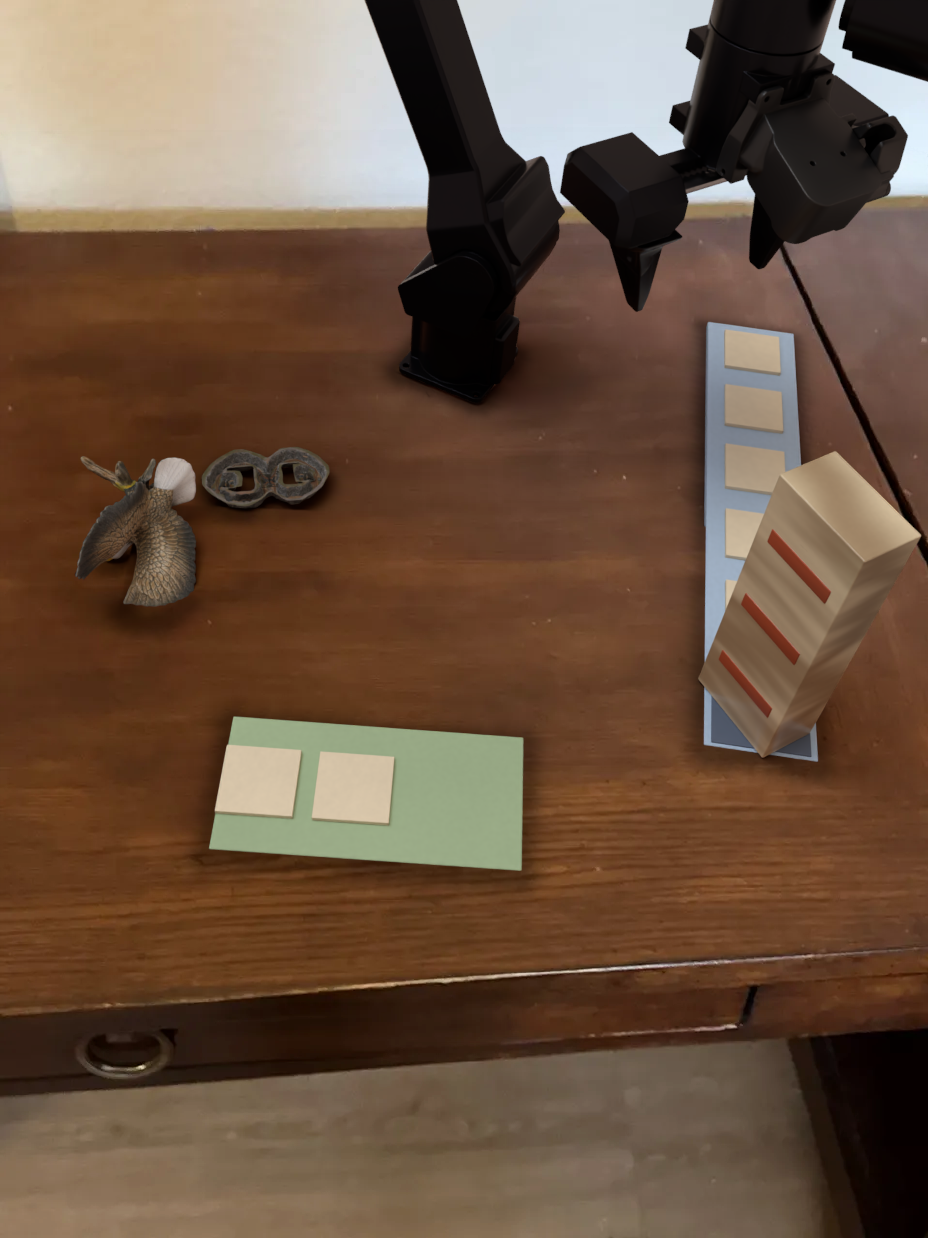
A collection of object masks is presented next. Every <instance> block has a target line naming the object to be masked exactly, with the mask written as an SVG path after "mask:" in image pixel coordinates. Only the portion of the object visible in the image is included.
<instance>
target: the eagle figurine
mask: <svg viewBox="0 0 928 1238" xmlns="http://www.w3.org/2000/svg"><path fill="white" fill-rule="evenodd" d="M79 460H80V461H81V463H82V464H83V465H84V466H85V467H86V469H87V470H88V471H90V472H92V473H94V475H96V476H98V477H100V478H101V479H103V480H104V481H108V482H110V483H111V484H112V485H113V486H114V488H117V489H118V490H119V491H120V492H122V493H123V492H124V494H125V495H124V496H123V498H121V499H120V500H119V501H115V502H114V503H113V504H112V505H111V504H110V505H107V506H105V507H104V509H103V510H101V511H100V513H99V516H98V517H97V518H96V521H95V523H93V524H92V526H91V528H90V530H89V532H88V533H87V535H86V537H85V538H84V539H83V541H82V546H81V548H80V551H79V555H78V556H79V558H78V560H77V563H76V565H77V568H76V571H75V574H74V575H75V578H77V579H78V580H81V579H82V580H83V581H84V580H85V579H86V578H87V577H88V576H89V575H90V574H91V573H92V572H93V571H94V570H95V569H97V568H98V567H99V566H100V565H101V564H103V563H106V562H110V561H112V560H113V559H114V560H117V559H120V558H121V557H122V556H123V555H124V554H125V552H126V551H127V550H128V549H129V547H130V546H132V545H133V544H134V545H135V548H136V560H135V566H134V572H133V577H132V580H131V583H130V585H129V587H128V589H127V592H126V595H125V597H124V599H123V602H122V603H123V605H130V604H131V605H135V606H143V607H146V608H147V607H160V606H166V605H168V604H174V603H176V602H178V601H179V600H180V601H181V600H183V599H184V598H187V597H189V596H190V594H191V593H193V592H194V591H195V584H196V582H197V577H196V575H195V574H196V569H197V565H196V562H195V561H196V554H197V553H196V549H195V548H197V539H196V535H195V533H194V532H193V527H192V526H191V525H190V524H189V522H188V521H186V520H184V518H183V517H182V516H181V515H178V511H177V510H175V509H174V508H173V507H177V506H179V505H182V504H185V503H188V502H191V501H193V500H194V498H195V496H196V492H197V483H196V472H195V471H194V470H193V466H192V464H191V463H190V462H188V461H186V459H183V458H179V457H167V458H166V457H165V458H164V459H161V460H160V461H159V462H158V463H157V460H156V459H155V458H151V459H150V462H149V464H148V465H147V467H146V469H145V470H144V472H143V473H142V475H140V476H139V477H138V480H135V479H132V477H131V474H130V472H129V471H128V468H127V467H126V465H125V463H124V461H122V460H118V461H116V464H115V466H114V471H112V470H110V469H107V468H105V467H102V466H101V465H98V464H97V463H96V462H95V461H94V460H92V459H91V458H89V457H87V456H84V455H82V456H80V459H79ZM156 464H157V465H156ZM155 468H156V470H155ZM154 470H155V473H154ZM153 474H154V479H153V482H151V484H150V481H151V479H152V477H153Z"/></svg>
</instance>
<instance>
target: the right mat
mask: <svg viewBox="0 0 928 1238" xmlns="http://www.w3.org/2000/svg"><path fill="white" fill-rule="evenodd" d="M797 387H798V386H797V368H796V351H795V334H794V333H790V332H783V331H777V330H769V329H762V328H754V327H747V326H741V325H734V324H727V323H719V322H712V321H708V322H707V324H706V327H705V405H704V406H705V408H704V409H705V412H704V416H705V417H704V499H703V501H704V502H703V503H704V504H703V505H704V506H703V507H704V508H703V509H704V510H703V511H704V513H703V527H705V571H704V573H705V577H704V578H705V582H704V583H705V585H704V587H705V589H704V605H705V606H704V661H705V660H706V658H707V655H708V653H709V650H710V648H711V645H712V643H713V640H714V638H715V635H716V633H717V630H718V628H719V625H720V623H721V620H722V618H723V615H724V613H725V610H726V608H727V605H728V603H729V600H730V598H731V595H732V593H733V590H734V588H735V585H736V583H737V580H738V578H739V575H740V573H741V570H742V568H743V565H744V563H745V560H746V558H747V555H748V553H749V550H750V548H751V545H752V543H753V540H754V538H755V535H756V533H757V530H758V528H759V525H760V523H761V520H762V518H763V515H764V513H765V510H766V508H767V505H768V503H769V500H770V498H771V495H772V493H773V490H774V488H775V485H776V483H777V480H778V478H779V475H780V474H782V473H784V472H787V471H789V470H791V469H794V468H796V467H798V466H801V465H802V458H801V457H802V456H801V441H800V438H801V437H800V425H799V420H800V419H799V406H798V405H799V403H798V388H797ZM703 687H704V686H703ZM703 689H704V690H703V692H704V693H703V698H704V699H703V745H704V746H708V747H715V748H722V749H730V750H736V751H743V752H748V753H756V754H759V753H758V752H757V751H756V750H755V748H754V747H753V746H752V745H751V743H750V742H749V741H748V740H747V738H746V737H745V736H744V735H743V734H742V732H741V731H740V730H739V729H738V727H737V726H736V725H735V724H734V722H733V721H732V720H731V719H730V718H729V716H728V715H727V714H726V713H725V711H724V710H723V709H722V708H721V706H720V705H719V704H718V703H717V702H716V700H715V699H714V698H713V697H712V695H711V694H710V693H709V692H708V690H707V689H706V688H705V687H704V688H703ZM768 756H775V757H777V756H778V757H783V758H788V759H789V758H790V759H795V760H803V761H811V762H816V763H817V762H819V754H818V737H817V722H816V723H815V725H814V727H813V728H812V730H811V732H810V733H809V734H807V735H806V736H804V737H802V738H800V739H798V740H796V741H794V742H792V743H790V744H788V745H786V746H784V747H783V748H781V749H779V750H777V751H775V752H773V753H771V754H769V755H768Z"/></svg>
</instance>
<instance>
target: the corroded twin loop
mask: <svg viewBox="0 0 928 1238" xmlns="http://www.w3.org/2000/svg"><path fill="white" fill-rule="evenodd" d="M282 468H283V469H291V468H292V470H293V476H294V481H295V482H296V483H284V474H283V469H282ZM250 470H253V480H254V488H253V489H251V490H241V491H236V489H237V488H239V487H243V475H242V473H241V472H247V471H250ZM330 472H331V471H330V466H329V465H328V463H326V461H324V459H323V458H322V457H320V456H319V455H318V454H316V453H314V452H313V451H310V450H309V449H306V448H302V447H299V446H289V447H280V448H278V449H277V450H276V451H275V452H273V453H272V454H271V455H270V456H265V455H263V454H260V453H257V452H254V451H251V450H248V449H244V448H239V449H232V450H230V451H229V452H226V453H225V454H222V455H220V456H219V457H217V458H216V459H215V460H214V461H212V462H211V463H210V464H209V465H208V466H207V467H206V469H205V471H204V472H203V473H202V475H201V485H202V486H203V487H204V489H205V490H206V491H207V492H208V493H209V494H210V495H211V496H213V497H215V499H217V500H219V501H221V502H223V503H225V504H226V505H227V506H228V507H229V508H231V509H232V508H234V509H256V508H258V507H259V506H260V505H262V504H263V503H264V501H265V500H266V499H267V498H269V497H273V498H275V499H277V500H279V501H280V502H285V503H288V505H299V504H301V503H302V502H304V501H305V500H308V499H310V498H311V497H313V496H315V494H317V493H318V491H319V490H320V489H322V487H323V486H324V484H325V482H326V481H327V479H328V476H329V475H330Z"/></svg>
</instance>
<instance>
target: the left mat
mask: <svg viewBox="0 0 928 1238" xmlns="http://www.w3.org/2000/svg"><path fill="white" fill-rule="evenodd" d="M524 741H525V739H524V737H519V736H507V735H490V734H479V733H478V734H477V733H465V732H464V733H463V732H451V731H438V730H437V731H436V730H422V729H410V728H395V727H383V726H382V727H381V726H371V725H370V726H369V725H357V724H355V725H353V724H343V723H342V724H340V723H328V722H314V721H301V720H287V719H275V718H273V719H272V718H259V717H246V716H233V717H232V722H231V728H230V733H229V738H228V743H227V744H226V748H225V753H224V758H223V764H222V769H221V774H220V779H219V785H218V791H217V796H216V801H215V805H214V806H215V807H214V818H213V819H214V820H213V825H212V830H211V835H210V841H209V847H208V849H209V850H216V851H218V850H219V851H232V852H244V853H245V852H246V853H258V854H259V853H261V854H274V855H288V856H305V857H316V858H317V857H318V858H331V859H346V860H347V859H348V860H362V861H373V862H374V861H375V862H388V863H389V862H391V863H402V864H403V863H405V864H416V865H418V864H419V865H434V866H446V867H460V868H462V867H463V868H476V869H489V870H490V869H491V870H505V871H519V872H520V871H522V870H523V815H524V814H523V810H524V807H523V806H524Z"/></svg>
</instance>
